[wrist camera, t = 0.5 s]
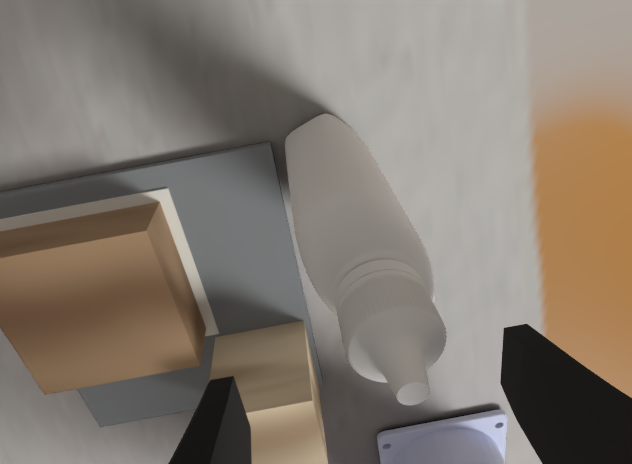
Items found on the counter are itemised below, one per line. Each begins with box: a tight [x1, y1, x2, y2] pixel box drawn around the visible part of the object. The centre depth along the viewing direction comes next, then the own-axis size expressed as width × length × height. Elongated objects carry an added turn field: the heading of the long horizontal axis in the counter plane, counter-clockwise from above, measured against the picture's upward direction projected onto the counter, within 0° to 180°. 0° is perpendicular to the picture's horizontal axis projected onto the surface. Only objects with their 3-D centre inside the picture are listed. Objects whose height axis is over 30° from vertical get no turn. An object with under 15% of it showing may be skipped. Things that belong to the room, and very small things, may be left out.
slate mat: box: [0, 142, 323, 427], centre depth 22 cm, size 14×12×1 cm
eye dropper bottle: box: [285, 114, 447, 406], centre depth 15 cm, size 4×6×12 cm
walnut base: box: [0, 202, 206, 395], centre depth 20 cm, size 7×7×2 cm
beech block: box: [209, 321, 328, 464], centre depth 22 cm, size 4×4×5 cm
